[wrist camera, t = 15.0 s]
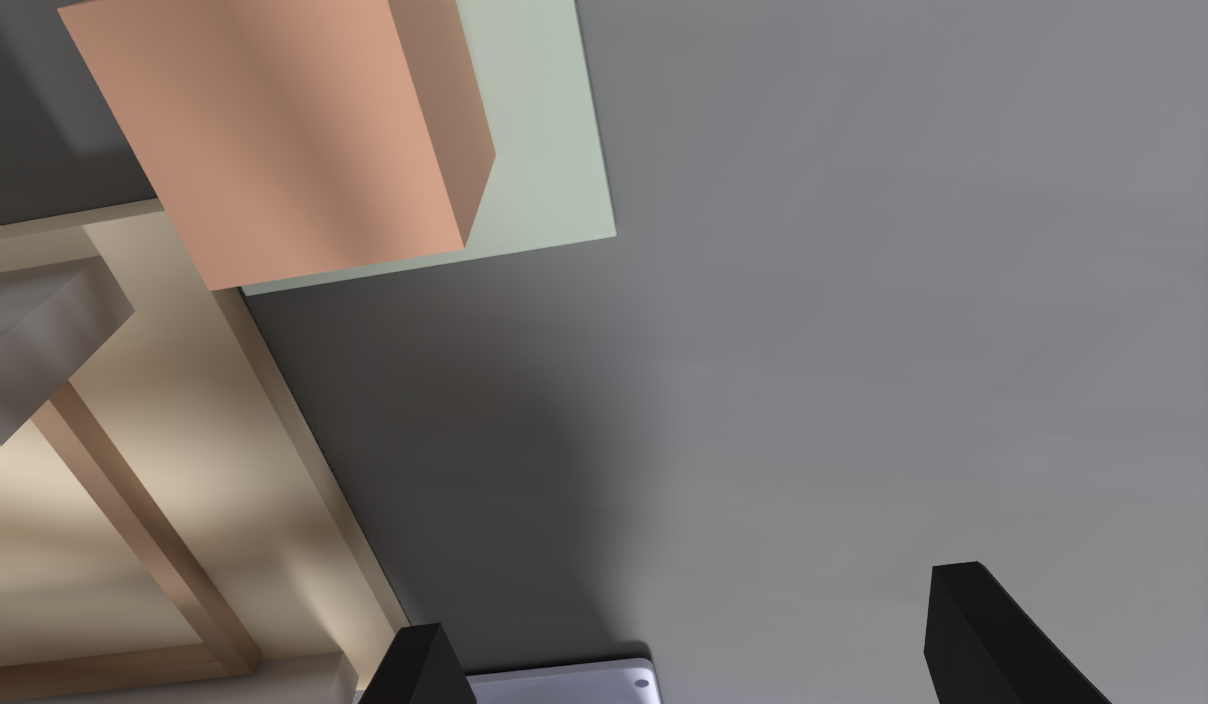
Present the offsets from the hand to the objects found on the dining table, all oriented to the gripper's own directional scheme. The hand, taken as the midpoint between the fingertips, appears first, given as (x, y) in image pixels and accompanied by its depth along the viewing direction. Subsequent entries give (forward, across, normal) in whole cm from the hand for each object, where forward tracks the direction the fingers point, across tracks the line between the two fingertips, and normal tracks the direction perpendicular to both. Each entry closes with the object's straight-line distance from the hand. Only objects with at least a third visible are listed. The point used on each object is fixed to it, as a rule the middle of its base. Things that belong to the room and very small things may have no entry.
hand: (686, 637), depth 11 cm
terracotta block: (+9, +5, -7) cm, 12 cm away
